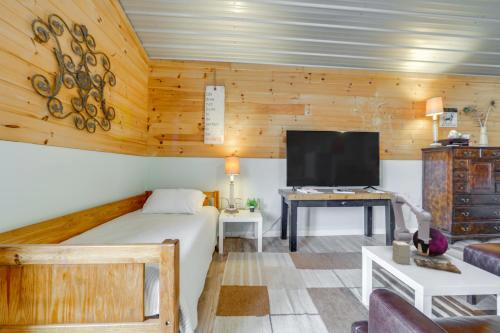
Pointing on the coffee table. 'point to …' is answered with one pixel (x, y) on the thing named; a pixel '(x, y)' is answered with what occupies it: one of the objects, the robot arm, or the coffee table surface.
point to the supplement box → (401, 252)
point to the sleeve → (421, 250)
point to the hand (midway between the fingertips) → (423, 251)
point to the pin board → (437, 265)
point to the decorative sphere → (434, 242)
